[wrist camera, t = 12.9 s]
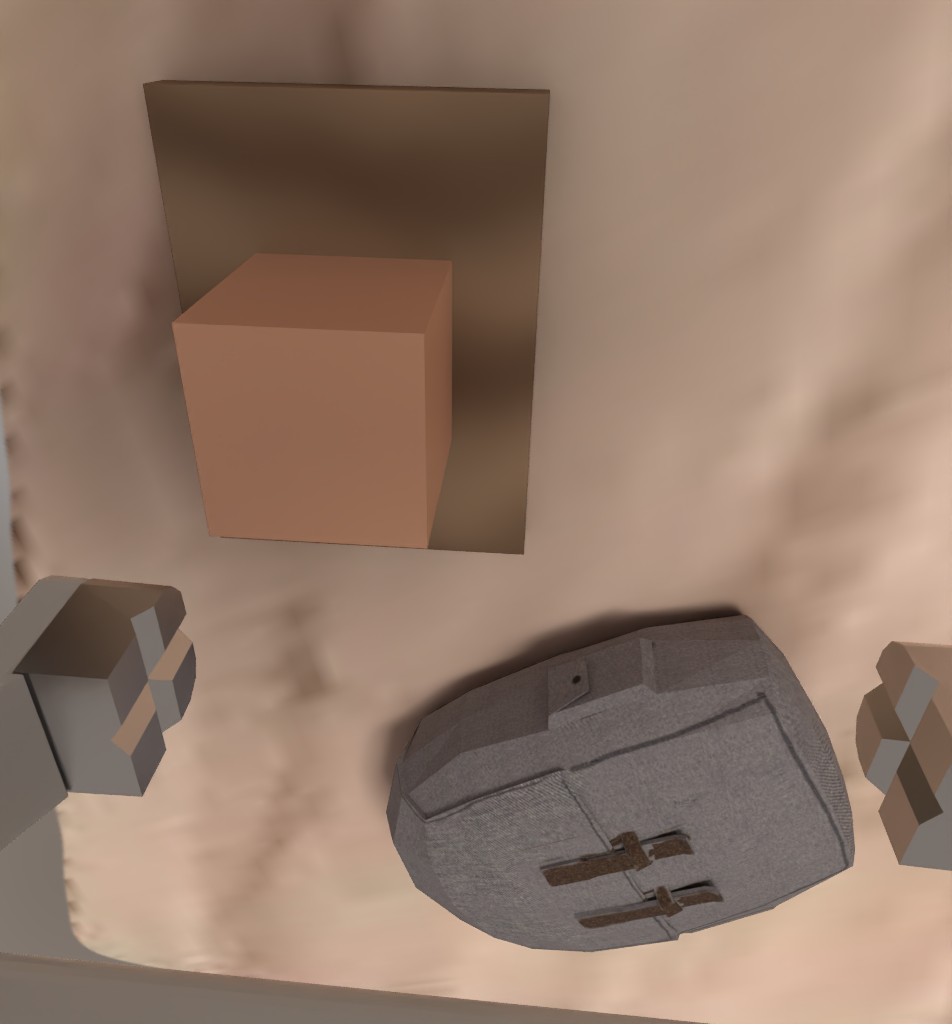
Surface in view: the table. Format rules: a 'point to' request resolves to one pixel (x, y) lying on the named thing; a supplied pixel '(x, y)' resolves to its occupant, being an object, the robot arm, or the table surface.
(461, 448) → the stub plate
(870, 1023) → the table surface
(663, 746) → the small grey backpack
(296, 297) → the salmon orange block
